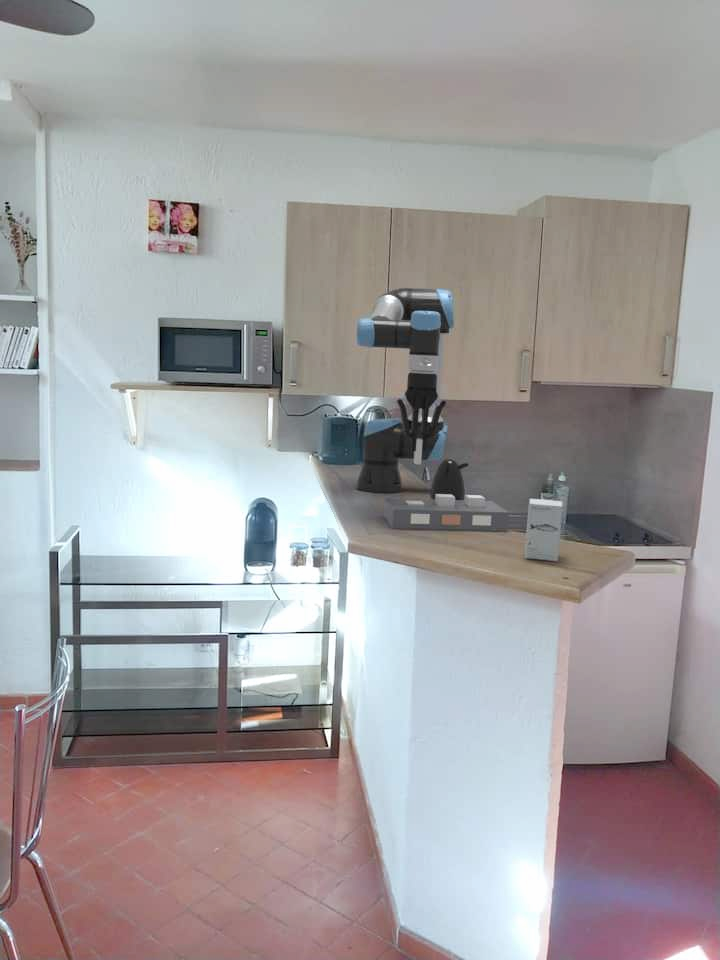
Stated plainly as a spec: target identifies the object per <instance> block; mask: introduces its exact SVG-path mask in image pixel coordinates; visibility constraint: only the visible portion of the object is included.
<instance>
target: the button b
mask: <svg viewBox="0 0 720 960" xmlns="http://www.w3.org/2000/svg"><path fill="white" fill-rule="evenodd" d="M435 505H436V506H437V507H455V497H454V496H453V495H451V494H435Z"/></svg>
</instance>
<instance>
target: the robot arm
mask: <svg viewBox="0 0 720 960" xmlns="http://www.w3.org/2000/svg"><path fill="white" fill-rule="evenodd" d="M454 317H455V316H454V304H453V294H452V292H451V291H450V290H448V289H439V288H409V287H401V288H396V289H392V290H390V291H387V292H385V293H383V294H382V295H379V297H378V298H377V299H376V300H375V302H374V303H373V306H372V314H371V317H367V318H360V319H359V320H358V322H357V328H356V342H357V345H358V346H359V347H367V348H383V349H384V348H385V349H388V348H389V349H408V350H409V352H408V354H409V355H408V364H407V365H408V369H407V370H408V371H409V372H408V374H407V384H406V385H407V387H406V390H405V392H404V395H403V396H401V397H400V398H396V402H395V403H396V404H397V405H398V407H399V411H400V417H401V418H398V417H397V418H395V417H393V418H392V417H390V418H379V419H378V418H377V419H373V420H372V419H371V420H368V421H366V423H365V426H364V433H363V438H364V439H363V440H364V441H363V456H362V459H363V460H362V466H361V469H360V472H359V474H358V477H357V479H356V489H357V490H360V491H363V492H370V493H381V494H382V493H386V494H387V493H388V494H389V493H399V492H402V491H403V480H402V477H401V472H400V469H399V459H400V460H403V459H404V460H413V463H414V465H422V461H426V462H428V461H439V460H440V459H441V458H442V457H443V453H444V448H445V444H446V438H447V432H448V425H446V424H444V418H443V417H442V416H441V413H442V410H443V409H444V407H445V406H446V404H447V403H446V401H445V400H443V399H442V398H441V388H442V376H443V375H442V371H443V360H444V358H443V357H444V341H445V339H446V337H447V336H449V335H450V329H453V328H454V327H455V322H454V321H455V318H454ZM407 402H408V404H409V405H410V406H411V414H410V415H408V413H407V412H408V411H407V407H406V405H407Z"/></svg>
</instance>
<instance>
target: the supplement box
mask: <svg viewBox="0 0 720 960" xmlns="http://www.w3.org/2000/svg"><path fill="white" fill-rule="evenodd" d="M563 506H564V505H563V501H559V500H549V499H540V498H539V499H538V498H537V499H536V498H529V501H528V509H527V521H526V532H525V533H526V535H525V543H524V544H525V545H524V559H526V560H527V559H531V560H540V561H550V562H557V563H558V561H559V550H560V540H561V539H560V538H561V529H562V528H561V527H562V520H563V519H562V518H563V510H564V508H563Z"/></svg>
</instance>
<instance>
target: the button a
mask: <svg viewBox="0 0 720 960" xmlns="http://www.w3.org/2000/svg"><path fill="white" fill-rule="evenodd" d="M405 504H406V505H407V506H425V504H424V503H423V502H422V501H405Z"/></svg>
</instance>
